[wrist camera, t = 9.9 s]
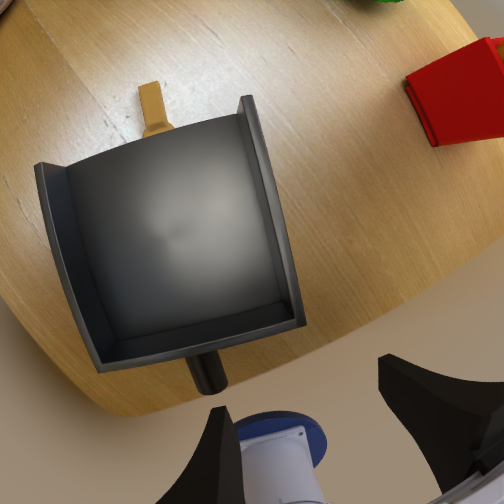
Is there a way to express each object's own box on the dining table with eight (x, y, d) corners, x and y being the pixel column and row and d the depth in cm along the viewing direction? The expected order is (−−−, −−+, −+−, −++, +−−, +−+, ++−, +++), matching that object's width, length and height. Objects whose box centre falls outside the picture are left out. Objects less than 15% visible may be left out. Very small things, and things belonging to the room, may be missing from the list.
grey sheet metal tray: (300, 345, 16) (316, 372, 13) (132, 385, 16) (120, 415, 13) (245, 113, 14) (252, 93, 11) (62, 170, 13) (33, 165, 10)
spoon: (180, 149, 19) (179, 147, 18) (148, 158, 19) (146, 157, 18) (164, 81, 18) (163, 78, 17) (134, 91, 18) (132, 88, 17)
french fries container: (395, 74, 19) (522, 8, 6) (454, 57, 20) (558, 15, 6) (432, 151, 21) (576, 137, 7) (484, 122, 21) (596, 107, 7)
